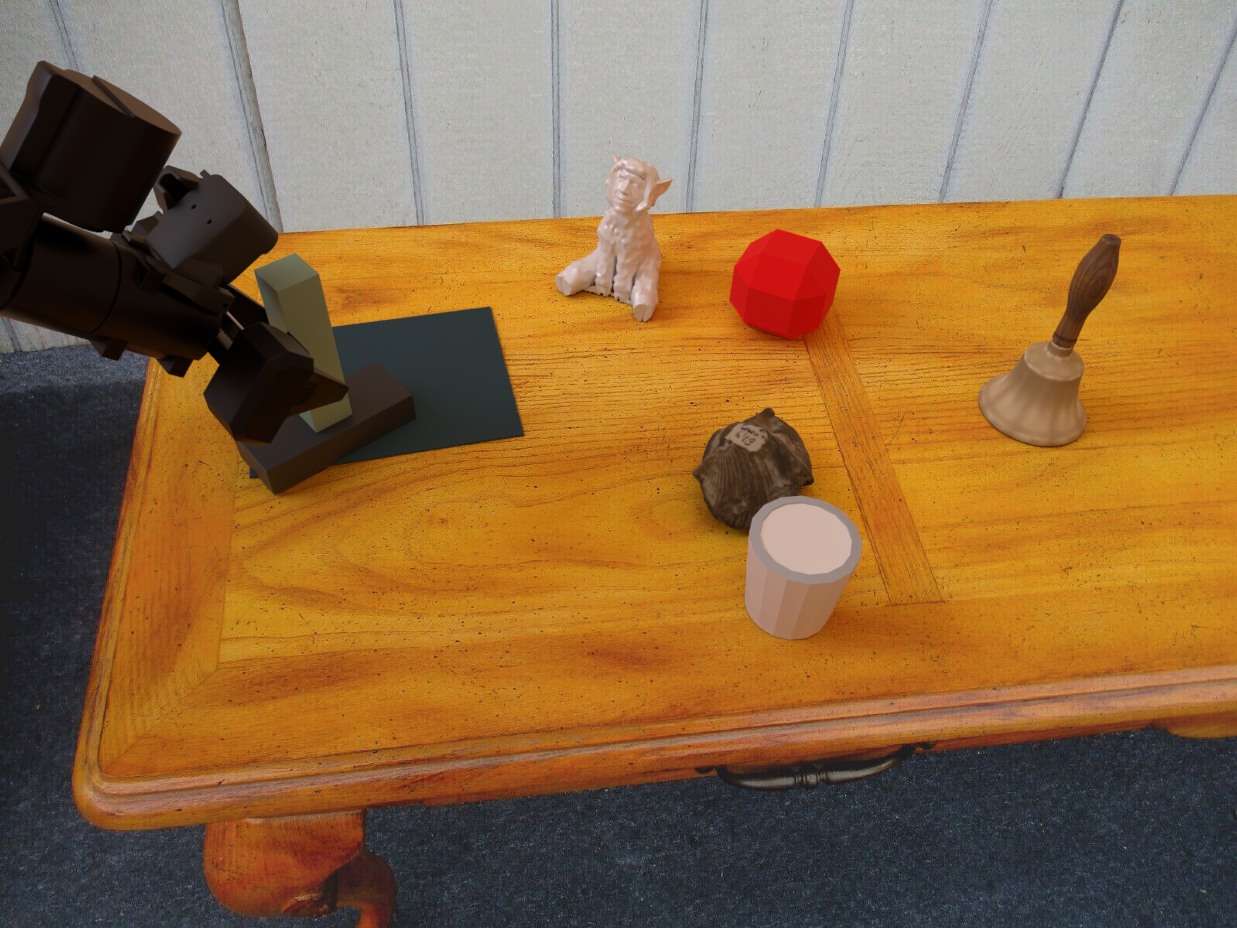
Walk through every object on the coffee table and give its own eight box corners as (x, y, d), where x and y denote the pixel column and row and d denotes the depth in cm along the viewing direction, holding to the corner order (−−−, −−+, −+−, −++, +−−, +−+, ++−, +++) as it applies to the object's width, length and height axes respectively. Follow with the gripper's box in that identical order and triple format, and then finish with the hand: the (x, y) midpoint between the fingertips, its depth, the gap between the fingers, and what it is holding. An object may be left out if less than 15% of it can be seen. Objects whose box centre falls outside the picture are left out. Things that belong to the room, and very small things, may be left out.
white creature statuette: (551, 294, 84) (548, 171, 76) (595, 245, 90) (597, 125, 81) (648, 326, 82) (657, 203, 73) (687, 273, 87) (700, 153, 78)
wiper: (274, 495, 67) (215, 329, 56) (240, 456, 70) (177, 289, 59) (416, 418, 73) (388, 254, 62) (380, 384, 75) (347, 220, 64)
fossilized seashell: (769, 401, 72) (660, 465, 70) (802, 376, 66) (683, 446, 63) (821, 486, 72) (714, 553, 69) (859, 469, 65) (742, 543, 63)
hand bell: (956, 394, 77) (1024, 224, 65) (1029, 364, 80) (1107, 196, 68) (1032, 461, 72) (1120, 290, 61) (1107, 425, 75) (1205, 256, 64)
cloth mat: (249, 478, 69) (249, 477, 68) (250, 338, 79) (250, 337, 79) (524, 435, 72) (524, 434, 72) (490, 307, 83) (490, 306, 83)
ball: (834, 309, 84) (853, 235, 79) (806, 362, 79) (823, 287, 74) (750, 283, 87) (762, 209, 81) (717, 332, 82) (727, 258, 76)
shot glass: (719, 622, 62) (732, 556, 56) (756, 547, 66) (771, 479, 61) (821, 664, 60) (844, 600, 54) (852, 584, 64) (876, 518, 59)
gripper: (239, 238, 46) (448, 327, 60) (91, 95, 56) (301, 199, 69) (133, 424, 48) (358, 470, 62) (7, 257, 58) (227, 328, 71)
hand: (310, 357), depth 66 cm, fingers open, 9 cm apart
